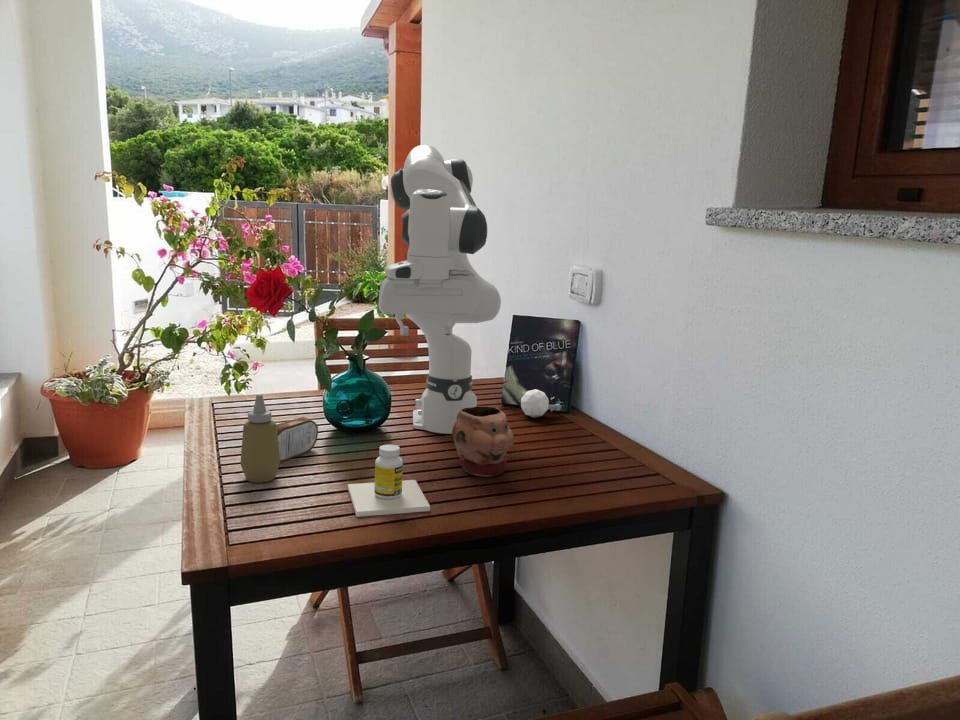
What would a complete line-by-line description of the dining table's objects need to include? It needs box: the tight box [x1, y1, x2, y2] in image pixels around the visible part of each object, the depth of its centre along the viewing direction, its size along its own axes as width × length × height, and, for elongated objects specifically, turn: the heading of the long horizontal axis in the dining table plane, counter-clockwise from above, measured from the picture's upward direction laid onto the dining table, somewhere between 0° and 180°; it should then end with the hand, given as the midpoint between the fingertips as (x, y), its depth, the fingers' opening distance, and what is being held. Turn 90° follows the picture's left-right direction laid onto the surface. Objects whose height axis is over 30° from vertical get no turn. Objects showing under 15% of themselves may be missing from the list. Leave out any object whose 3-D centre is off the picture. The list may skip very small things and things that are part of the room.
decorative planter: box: [451, 405, 515, 477], centre depth 160 cm, size 20×12×14 cm, turn 37°
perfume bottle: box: [520, 388, 562, 419], centre depth 206 cm, size 8×8×12 cm
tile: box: [347, 479, 431, 518], centre depth 142 cm, size 14×14×1 cm
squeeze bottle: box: [239, 394, 281, 484], centre depth 148 cm, size 8×8×18 cm
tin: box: [276, 416, 319, 463], centre depth 163 cm, size 15×3×8 cm, turn 150°
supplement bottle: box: [374, 444, 404, 499], centre depth 141 cm, size 5×5×10 cm
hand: (426, 335), depth 152 cm, fingers open, 8 cm apart
